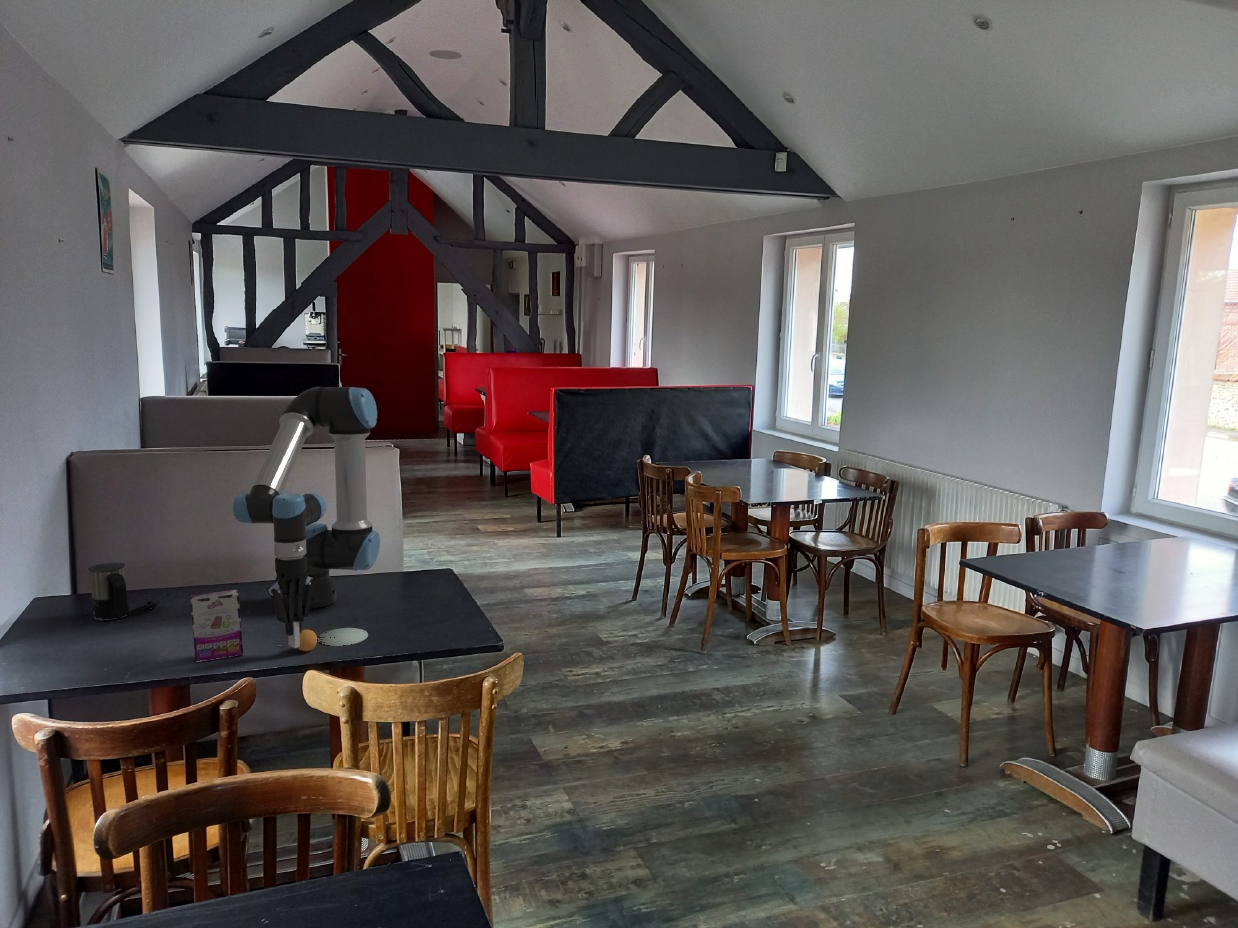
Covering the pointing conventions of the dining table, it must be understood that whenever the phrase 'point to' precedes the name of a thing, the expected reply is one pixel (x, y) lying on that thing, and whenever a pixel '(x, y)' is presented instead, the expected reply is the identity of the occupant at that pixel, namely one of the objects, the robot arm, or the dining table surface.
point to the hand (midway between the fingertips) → (294, 645)
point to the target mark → (343, 636)
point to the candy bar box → (216, 625)
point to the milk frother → (111, 591)
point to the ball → (307, 640)
